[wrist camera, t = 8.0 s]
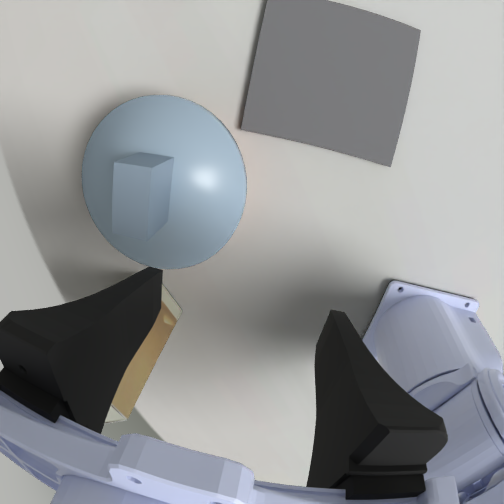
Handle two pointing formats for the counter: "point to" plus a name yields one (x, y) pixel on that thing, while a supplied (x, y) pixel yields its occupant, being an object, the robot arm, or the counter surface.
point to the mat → (331, 77)
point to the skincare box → (144, 360)
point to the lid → (164, 181)
